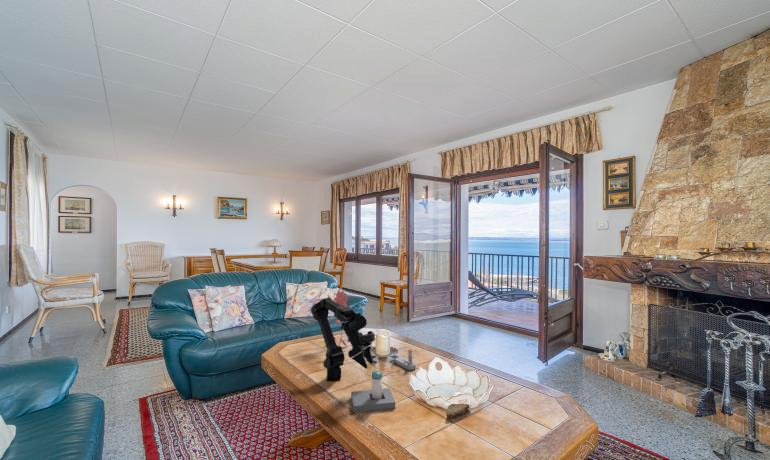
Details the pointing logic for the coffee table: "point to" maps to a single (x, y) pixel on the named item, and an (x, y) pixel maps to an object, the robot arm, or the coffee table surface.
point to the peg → (376, 385)
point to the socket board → (372, 401)
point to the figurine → (342, 301)
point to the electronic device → (406, 362)
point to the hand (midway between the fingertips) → (369, 365)
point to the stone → (456, 410)
